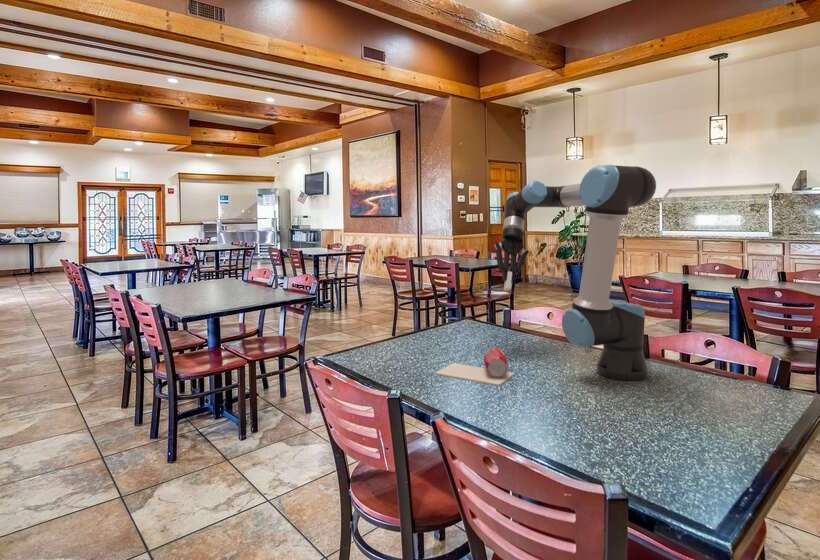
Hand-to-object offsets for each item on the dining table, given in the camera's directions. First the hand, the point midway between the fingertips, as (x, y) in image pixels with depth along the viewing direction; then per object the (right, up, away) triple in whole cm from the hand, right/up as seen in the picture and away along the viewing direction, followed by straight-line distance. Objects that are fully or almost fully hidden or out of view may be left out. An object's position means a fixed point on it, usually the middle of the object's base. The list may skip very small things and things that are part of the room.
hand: (507, 289), depth 175 cm
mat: (-13, -27, -14) cm, 33 cm away
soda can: (-6, -22, -9) cm, 24 cm away
